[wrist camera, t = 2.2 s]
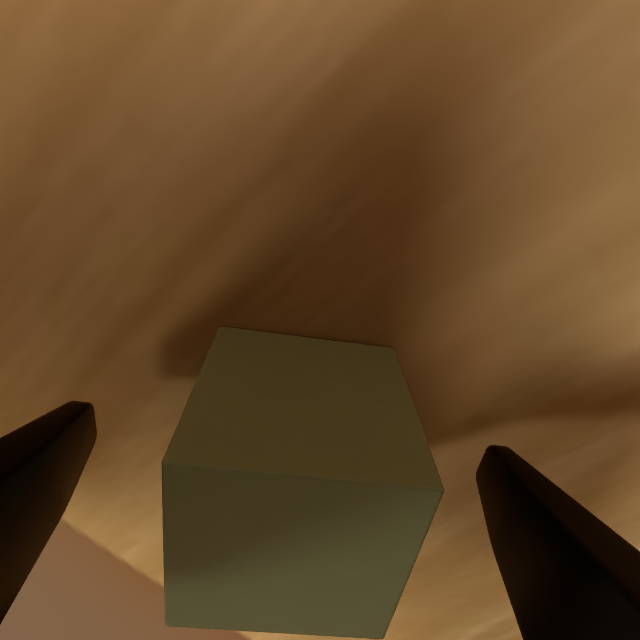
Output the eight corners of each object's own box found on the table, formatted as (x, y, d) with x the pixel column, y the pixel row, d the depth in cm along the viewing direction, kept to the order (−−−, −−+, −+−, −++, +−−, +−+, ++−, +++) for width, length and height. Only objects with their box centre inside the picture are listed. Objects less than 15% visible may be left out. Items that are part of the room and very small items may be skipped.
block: (360, 472, 11) (383, 641, 8) (211, 458, 11) (163, 628, 7) (394, 347, 9) (446, 489, 6) (219, 324, 9) (160, 462, 6)
